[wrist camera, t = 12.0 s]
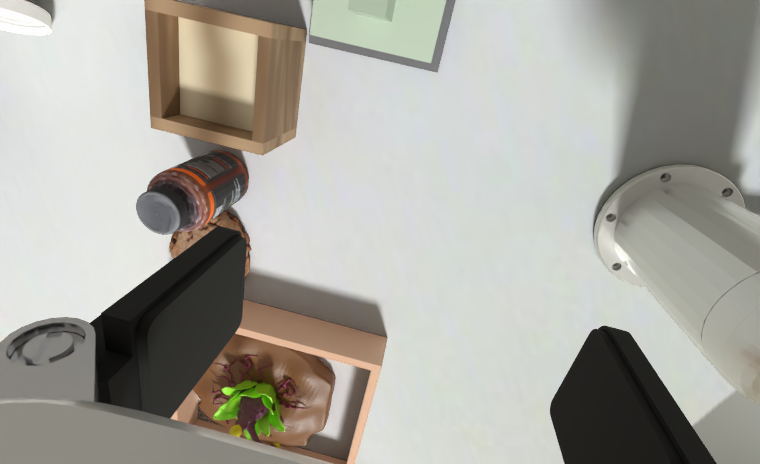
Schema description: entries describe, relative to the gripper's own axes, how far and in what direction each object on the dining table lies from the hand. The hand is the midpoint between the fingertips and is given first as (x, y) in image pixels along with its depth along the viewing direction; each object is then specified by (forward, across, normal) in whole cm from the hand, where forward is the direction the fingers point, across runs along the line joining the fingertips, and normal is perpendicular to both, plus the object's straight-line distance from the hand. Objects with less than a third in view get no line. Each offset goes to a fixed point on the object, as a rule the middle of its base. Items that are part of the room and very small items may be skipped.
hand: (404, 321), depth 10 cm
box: (+30, +18, -1) cm, 36 cm away
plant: (+31, +14, +39) cm, 52 cm away
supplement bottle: (+31, +21, +10) cm, 38 cm away
